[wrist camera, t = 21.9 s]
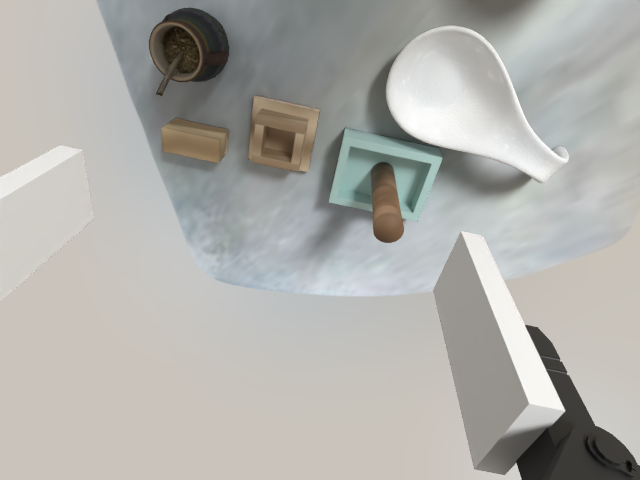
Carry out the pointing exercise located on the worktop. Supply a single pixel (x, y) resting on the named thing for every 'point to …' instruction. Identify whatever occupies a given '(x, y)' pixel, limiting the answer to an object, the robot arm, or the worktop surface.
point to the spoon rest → (465, 101)
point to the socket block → (282, 134)
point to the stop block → (195, 140)
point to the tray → (405, 157)
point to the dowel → (385, 204)
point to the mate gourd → (188, 47)
